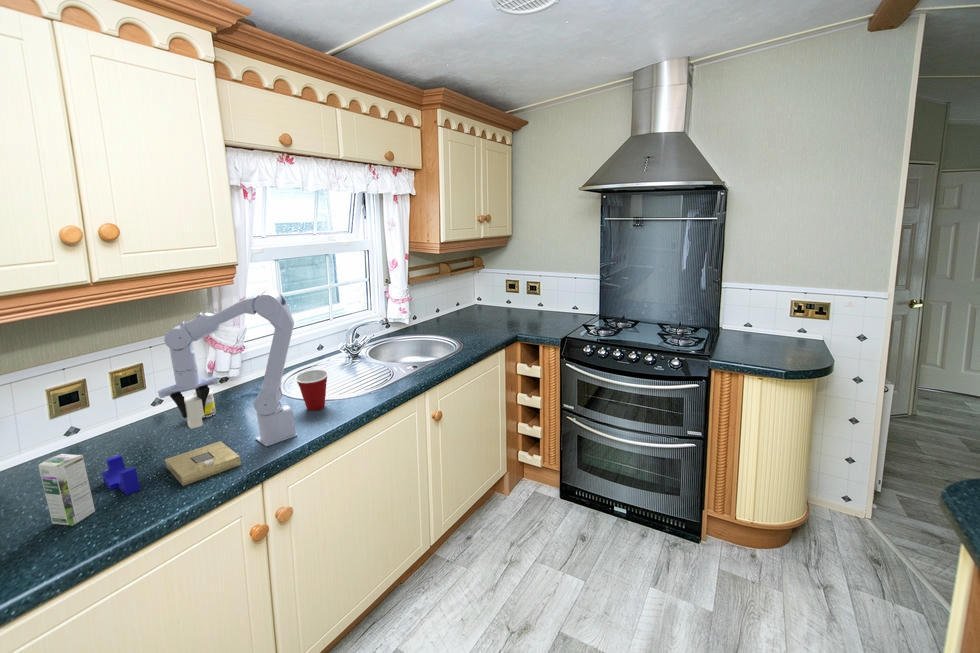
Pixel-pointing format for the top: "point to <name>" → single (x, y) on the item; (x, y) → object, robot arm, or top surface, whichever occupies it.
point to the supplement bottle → (209, 405)
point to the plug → (194, 411)
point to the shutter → (202, 458)
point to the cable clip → (120, 476)
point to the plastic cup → (313, 388)
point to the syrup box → (66, 489)
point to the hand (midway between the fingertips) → (193, 414)
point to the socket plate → (202, 463)
